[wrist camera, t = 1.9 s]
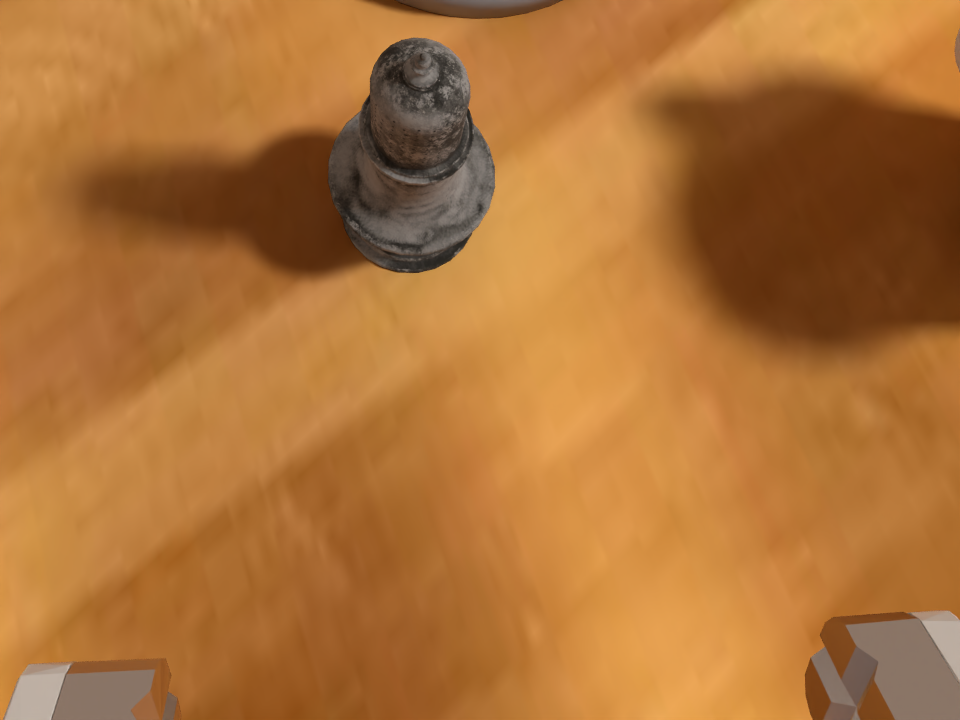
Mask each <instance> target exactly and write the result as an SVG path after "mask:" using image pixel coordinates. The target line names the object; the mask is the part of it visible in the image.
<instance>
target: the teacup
mask: <svg viewBox="0 0 960 720" xmlns="http://www.w3.org/2000/svg"><path fill="white" fill-rule="evenodd" d="M955 59H956V63H957V66H958V69H959V72H960V29H959V32H958V35H957V38H956V43H955Z"/></svg>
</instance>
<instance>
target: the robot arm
mask: <svg viewBox="0 0 960 720" xmlns="http://www.w3.org/2000/svg"><path fill="white" fill-rule="evenodd" d="M820 637H821V639H822V641H823V643H824V645H825V647H824V648H823V649H821V650H820V651H819V652H817V653H816V654H815V655H813V656H812V657H811V658H810V661H809V664H808V667H807V670H806V673H805V690H806V699H807V703H808V707H809V710H810V714H811V716H812V718H813V720H960V620H959V619H958V618H957V617H956V616H955V615H953V614H952V613H951V612H949V611H944V610H937V611H925V612H913V613H905V612H893V613H880V614H867V615H854V616H841V617H832V618H831V619H830V620H828V621H827V622H825V624H824V626H823V629H822V631H821V633H820ZM170 679H171V673H170V669H169V666H168V663H167V660H166V658H157V659H133V660H109V661H85V662H59V663H42V664H29V665H28V666H27V668H26V669H25V670H24V672H23V673H22V674H21V676H20V677H19V678H18V681H17V683H16V686H15V689H14V691H13V694H12V697H11V700H10V702H9V705H8V708H7V710H6V713H5V716H4V718H3V720H181V710H180V706H179V702H178V698H177V697H175V696H174V695H172V694H171V693H169V692H168V689H169V684H170Z"/></svg>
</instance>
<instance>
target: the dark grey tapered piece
mask: <svg viewBox="0 0 960 720" xmlns="http://www.w3.org/2000/svg"><path fill="white" fill-rule="evenodd" d="M469 101H470V83H469V79H468V76H467V72H466V69H465V67H464V65H463V64H462V62H461V60H460V59H459V58H458V57H457V56H456V55H455V54H454V53H453V52H452V51H451V50H450V49H449V48H447V47H446V46H444V45H442V44H441V43H439V42H436V41H433V40H430V39H426V38H410V39H405V40H401V41H399V42H397V43H395V44H392V45H391V46H390V47H388V48H387V49H386V50H385V51H384V52H383V53H382V54H381V55H380V57H379V58H378V60H377V62H376V63H375V65H374V67H373V71H372V74H371V77H370V95H369V96H368V98H367V99H366V101H365V102H364V104H363V106H362V109H361V111H360V112H359V113H358V114H357V115H355V116H354V117H353V118H352V119H351V120H350V121H349V122H347V123H346V125H345V126H344V128H343V129H342V131H341V132H340V134H339V135H338V137H337V138H336V140H335V142H334V145H333V149H332V152H331V155H330V158H329V169H328V183H329V187H330V191H331V195H332V199H333V203H334V205H335V207H336V208H337V210H338V212H339V214H340V215H341V217H342V219H343V222H344V226H345V230H346V232H347V234H348V236H349V237H350V239H351V241H352V243H353V244H354V246H355V247H356V248H357V249H358V250H359V251H360V252H361V253H362V254H363V255H364V256H365V257H366V258H367V259H369V260H371V261H372V262H374V263H376V264H377V265H379V266H381V267H383V268H386V269H390V270H393V271H397V272H406V273H419V272H423V271H427V270H432V269H435V268H437V267H439V266H441V265H443V264H445V263H447V262H448V261H450V260H451V259H452V258H454V257H455V256H456V255H457V254H458V253H459V252H460V251H461V250H462V249H463V248H464V246H465V244H466V243H467V241H468V239H469V238H470V236H471V234H472V232H473V231H474V230H475V229H476V228H477V227H478V226H479V224H480V222H481V221H482V219H483V217H484V216H485V214H486V213H487V211H488V209H489V207H490V203H491V200H492V196H493V192H494V189H495V166H494V163H493V159H492V156H491V152H490V149H489V146H488V144H487V143H486V141H485V139H484V138H483V136H482V134H481V133H480V131H479V129H478V128H477V127H476V126H475V125H474V124H473V121H472V117H471V114H470V110H469V109H468V106H469Z"/></svg>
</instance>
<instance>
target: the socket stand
mask: <svg viewBox="0 0 960 720" xmlns="http://www.w3.org/2000/svg"><path fill="white" fill-rule="evenodd" d="M396 1H398V2H400V3H403V4H406V5H409V6H412V7H415V8H418V9H421V10H424V11H427V12H432V13H437V14H442V15H447V16H454V17H466V18H497V17H507V16H513V15H519V14H525V13H529V12H532V11H535V10H539V9H542V8H545V7H548V6H551V5H553V4H556V3H558V2H560V1H562V0H396Z"/></svg>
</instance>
